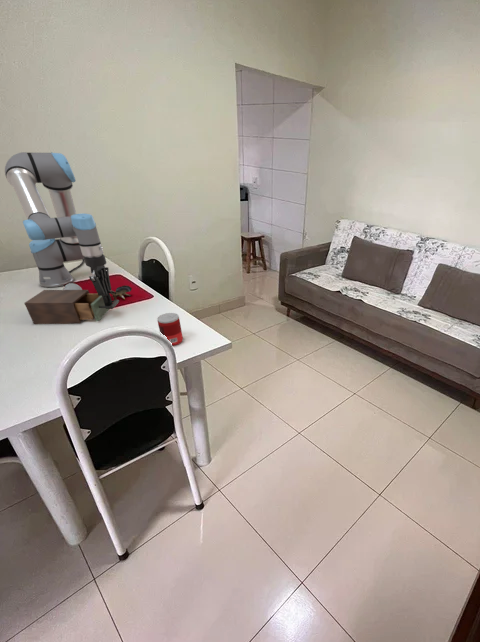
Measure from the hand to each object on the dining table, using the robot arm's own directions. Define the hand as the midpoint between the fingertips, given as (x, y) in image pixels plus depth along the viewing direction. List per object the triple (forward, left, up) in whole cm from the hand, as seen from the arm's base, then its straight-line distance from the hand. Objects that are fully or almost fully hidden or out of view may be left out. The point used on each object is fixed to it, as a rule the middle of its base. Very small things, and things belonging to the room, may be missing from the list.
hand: (110, 308), depth 145 cm
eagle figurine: (-20, +4, -4) cm, 21 cm away
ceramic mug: (-25, -16, -4) cm, 30 cm away
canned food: (+33, +22, -4) cm, 40 cm away
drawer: (-3, -8, -3) cm, 9 cm away
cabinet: (-7, -19, -4) cm, 21 cm away
